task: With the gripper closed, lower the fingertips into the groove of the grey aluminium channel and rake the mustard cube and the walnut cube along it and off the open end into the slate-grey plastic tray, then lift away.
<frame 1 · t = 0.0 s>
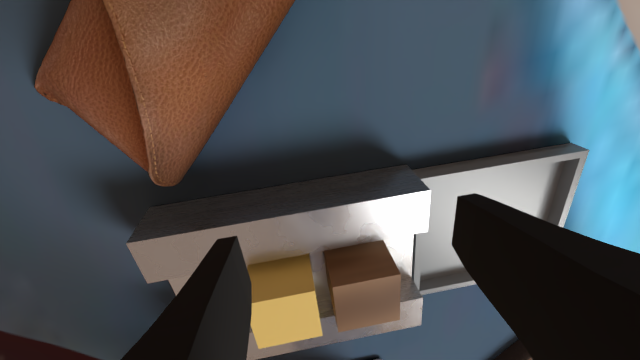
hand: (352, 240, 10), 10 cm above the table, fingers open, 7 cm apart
walnut cube: (352, 258, 22), point 2 cm above the table, touching channel
channel: (295, 254, 23), on the table
tray: (481, 219, 24), on the table
mustard cube: (283, 272, 21), point 2 cm above the table, touching channel
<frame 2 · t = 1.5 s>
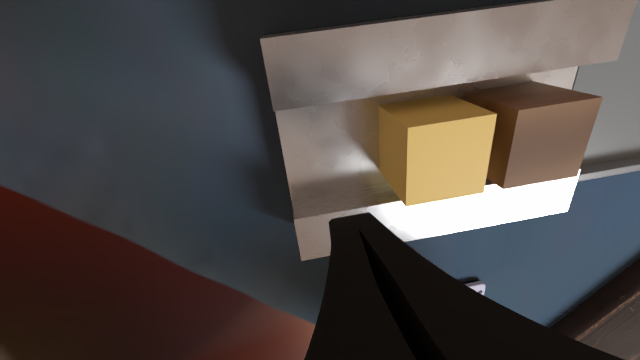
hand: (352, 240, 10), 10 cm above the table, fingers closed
walnut cube: (495, 121, 18), point 2 cm above the table, touching channel
channel: (417, 123, 19), on the table
tray: (633, 89, 20), on the table
mustard cube: (412, 134, 17), point 2 cm above the table, touching channel
hardcover book: (630, 305, 33), on the table
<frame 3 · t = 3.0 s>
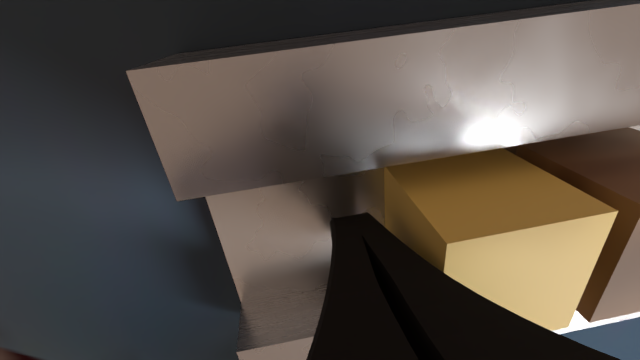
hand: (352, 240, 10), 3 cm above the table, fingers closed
walnut cube: (556, 185, 11), point 2 cm above the table, touching channel
channel: (434, 182, 13), on the table
mustard cube: (437, 205, 11), point 2 cm above the table, touching gripper
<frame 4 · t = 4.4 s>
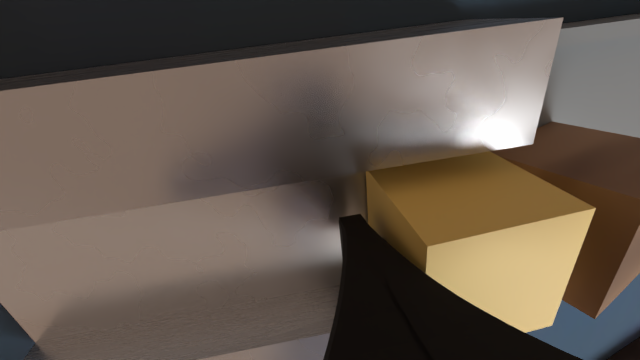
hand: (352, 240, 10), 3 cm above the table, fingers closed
walnut cube: (510, 184, 12), point 1 cm above the table, tilted 22°, touching mustard cube
channel: (247, 215, 12), on the table
tray: (590, 157, 13), on the table
mustard cube: (421, 206, 11), point 2 cm above the table, touching channel, gripper, walnut cube
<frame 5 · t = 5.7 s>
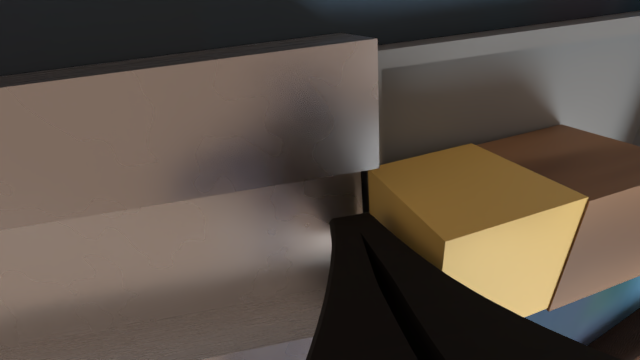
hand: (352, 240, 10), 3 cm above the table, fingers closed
walnut cube: (508, 182, 12), point 1 cm above the table, tilted 8°, touching mustard cube
channel: (135, 233, 12), on the table
tray: (499, 171, 13), on the table
mustard cube: (418, 203, 11), point 1 cm above the table, tilted 8°, touching gripper, walnut cube
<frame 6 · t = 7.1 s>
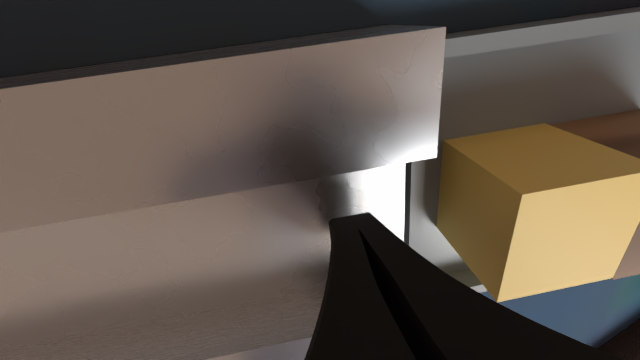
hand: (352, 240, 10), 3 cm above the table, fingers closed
walnut cube: (577, 163, 13), resting on tray
channel: (176, 227, 12), on the table
tray: (533, 163, 13), on the table
mustard cube: (486, 178, 12), resting on tray
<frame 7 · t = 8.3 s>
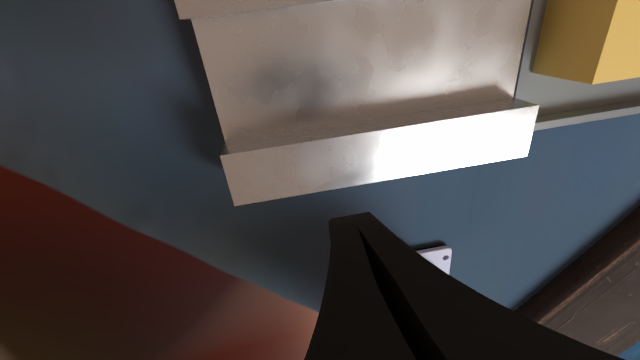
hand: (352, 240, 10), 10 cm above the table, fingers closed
channel: (364, 59, 17), on the table
tray: (601, 26, 18), on the table
mustard cube: (570, 32, 18), resting on tray
hardcover book: (611, 279, 32), on the table
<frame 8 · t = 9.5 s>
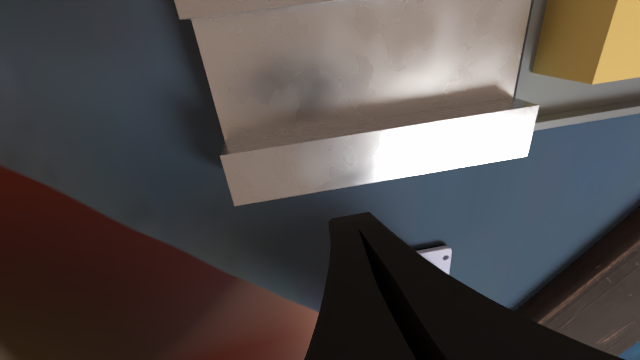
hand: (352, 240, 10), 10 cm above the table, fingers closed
channel: (364, 59, 17), on the table
tray: (601, 26, 18), on the table
mustard cube: (570, 32, 18), resting on tray
hardcover book: (611, 279, 32), on the table
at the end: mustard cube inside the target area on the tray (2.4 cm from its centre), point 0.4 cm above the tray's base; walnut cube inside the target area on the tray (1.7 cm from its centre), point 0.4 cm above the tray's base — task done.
